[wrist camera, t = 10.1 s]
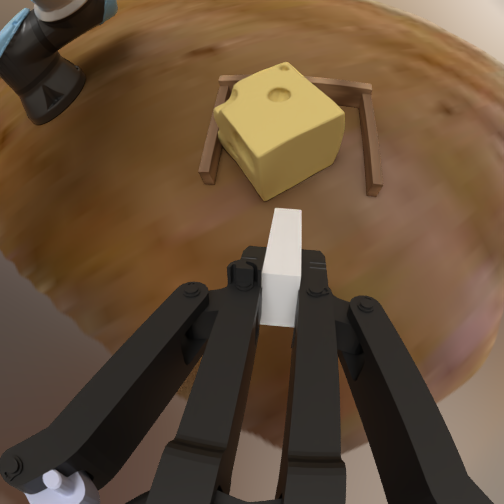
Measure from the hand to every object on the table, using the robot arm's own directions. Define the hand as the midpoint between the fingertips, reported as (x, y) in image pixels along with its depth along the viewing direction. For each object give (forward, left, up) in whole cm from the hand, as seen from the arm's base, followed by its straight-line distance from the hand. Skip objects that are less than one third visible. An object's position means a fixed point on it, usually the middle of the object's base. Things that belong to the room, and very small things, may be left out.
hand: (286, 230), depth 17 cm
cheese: (-2, +15, -14) cm, 21 cm away
